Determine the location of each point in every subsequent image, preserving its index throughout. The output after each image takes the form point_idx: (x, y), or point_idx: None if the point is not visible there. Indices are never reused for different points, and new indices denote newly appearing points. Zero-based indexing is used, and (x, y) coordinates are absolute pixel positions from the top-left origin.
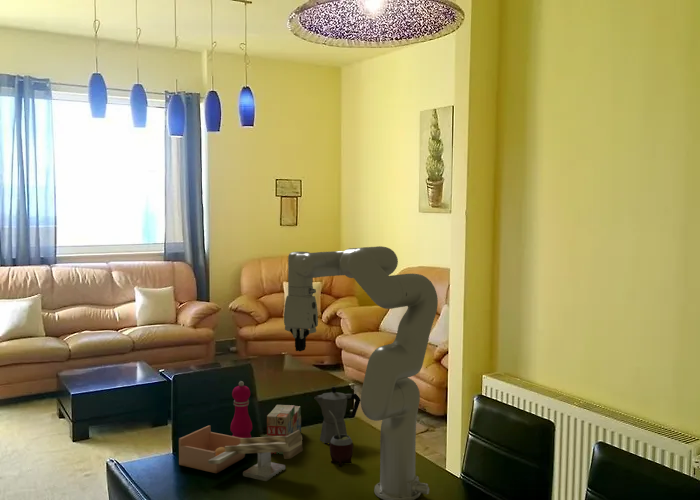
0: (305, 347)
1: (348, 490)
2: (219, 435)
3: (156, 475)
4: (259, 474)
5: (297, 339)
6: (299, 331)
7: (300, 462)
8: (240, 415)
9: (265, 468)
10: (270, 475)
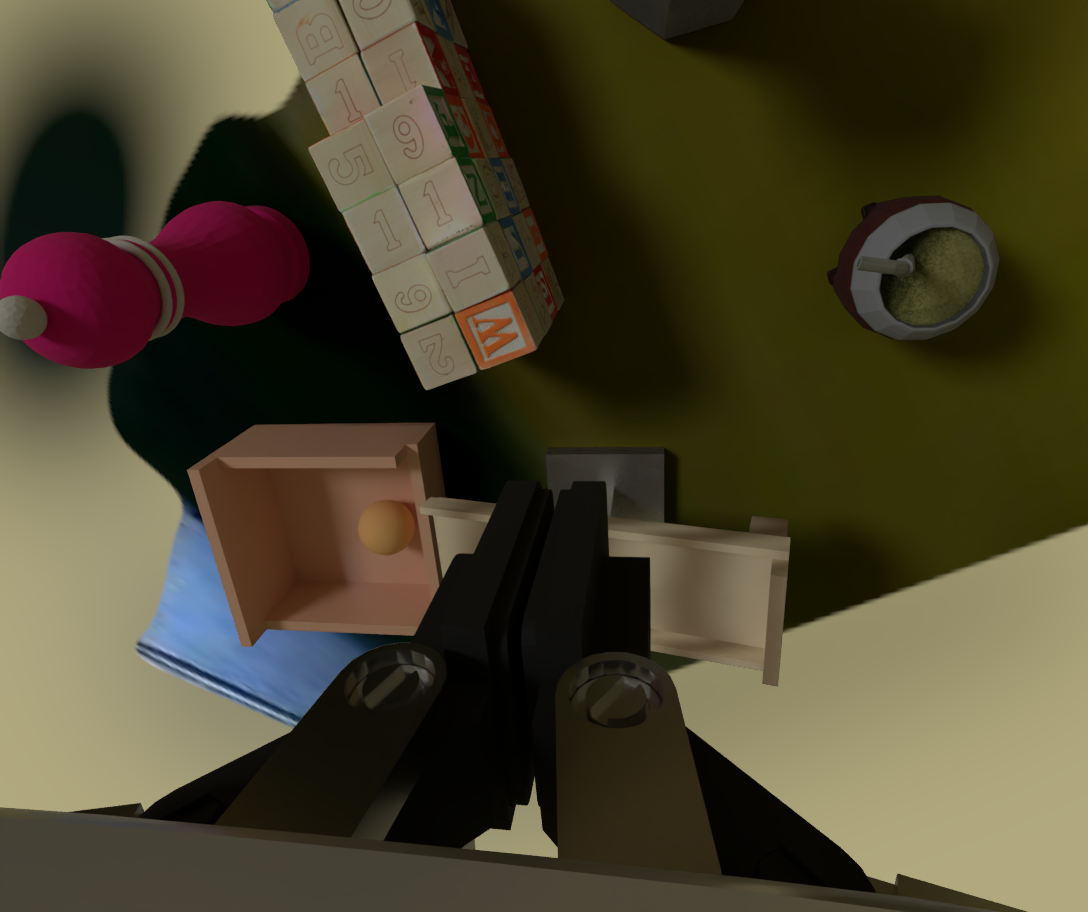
0: (649, 559)
1: (1028, 511)
2: (278, 466)
3: (314, 669)
4: None
5: (524, 804)
6: (387, 808)
7: (684, 352)
8: (205, 312)
9: None
10: None
